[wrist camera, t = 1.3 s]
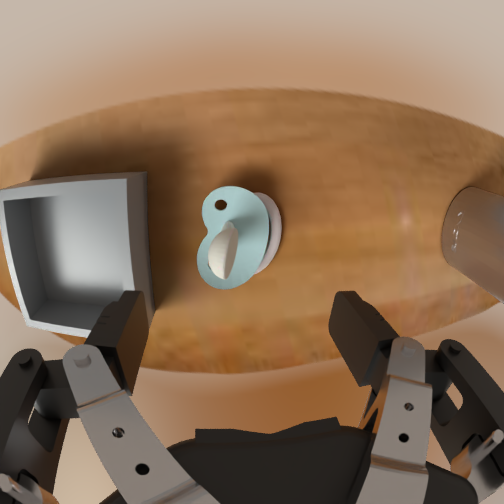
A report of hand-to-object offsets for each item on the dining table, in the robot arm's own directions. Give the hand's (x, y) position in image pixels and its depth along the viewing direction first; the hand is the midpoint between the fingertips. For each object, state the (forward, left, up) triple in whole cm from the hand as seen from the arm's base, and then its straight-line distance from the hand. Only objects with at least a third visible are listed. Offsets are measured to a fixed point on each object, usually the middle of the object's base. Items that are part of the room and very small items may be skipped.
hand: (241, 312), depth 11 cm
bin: (+12, +1, -10) cm, 16 cm away
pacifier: (-1, 0, -11) cm, 11 cm away
